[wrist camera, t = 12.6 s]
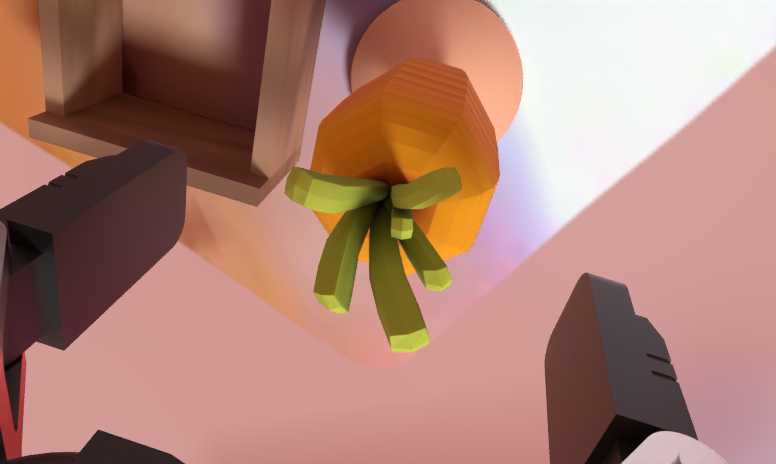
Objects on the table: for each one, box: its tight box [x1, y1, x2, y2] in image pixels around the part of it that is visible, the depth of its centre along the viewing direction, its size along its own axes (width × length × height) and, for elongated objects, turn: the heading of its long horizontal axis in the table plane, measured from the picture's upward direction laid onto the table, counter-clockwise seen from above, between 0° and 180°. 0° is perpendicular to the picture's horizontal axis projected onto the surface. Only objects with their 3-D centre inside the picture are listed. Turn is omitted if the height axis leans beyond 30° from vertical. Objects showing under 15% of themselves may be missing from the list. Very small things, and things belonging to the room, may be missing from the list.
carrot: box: [285, 57, 500, 352], centre depth 17 cm, size 5×5×15 cm
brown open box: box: [28, 0, 325, 207], centre depth 22 cm, size 10×10×5 cm
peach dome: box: [351, 0, 523, 142], centre depth 23 cm, size 7×7×1 cm
